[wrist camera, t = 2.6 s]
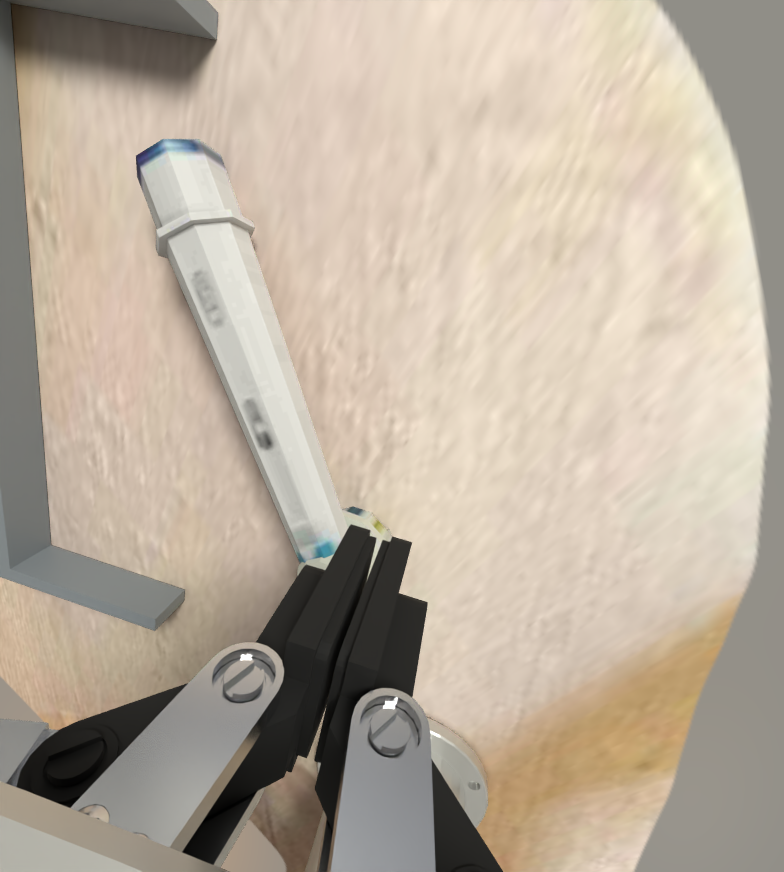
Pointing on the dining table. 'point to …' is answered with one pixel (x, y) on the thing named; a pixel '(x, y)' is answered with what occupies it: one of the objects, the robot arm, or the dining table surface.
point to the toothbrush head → (245, 340)
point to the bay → (17, 357)
